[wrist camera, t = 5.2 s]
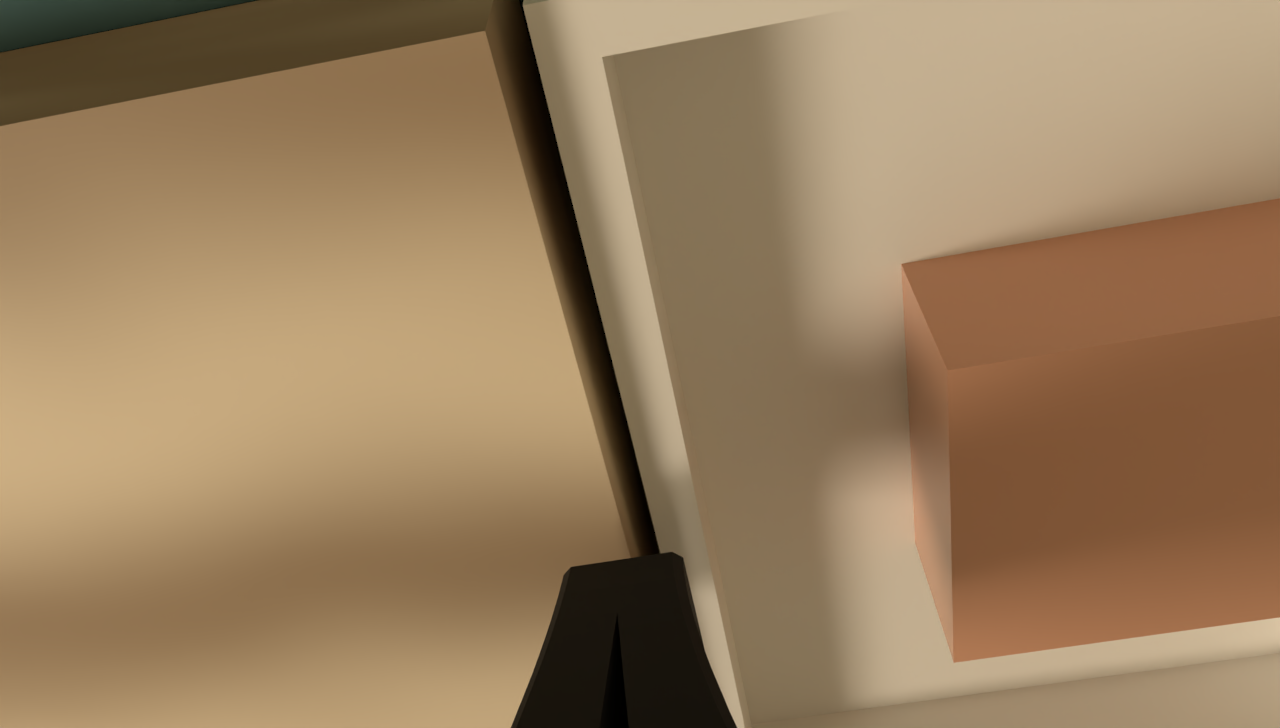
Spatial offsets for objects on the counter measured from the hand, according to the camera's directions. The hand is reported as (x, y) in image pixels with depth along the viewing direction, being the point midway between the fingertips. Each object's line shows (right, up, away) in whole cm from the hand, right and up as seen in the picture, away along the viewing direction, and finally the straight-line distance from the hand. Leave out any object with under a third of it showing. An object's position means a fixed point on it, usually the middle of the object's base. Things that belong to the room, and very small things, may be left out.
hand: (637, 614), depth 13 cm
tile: (+6, +1, 0) cm, 6 cm away
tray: (+5, +3, +2) cm, 6 cm away
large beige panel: (-6, +1, +3) cm, 6 cm away
